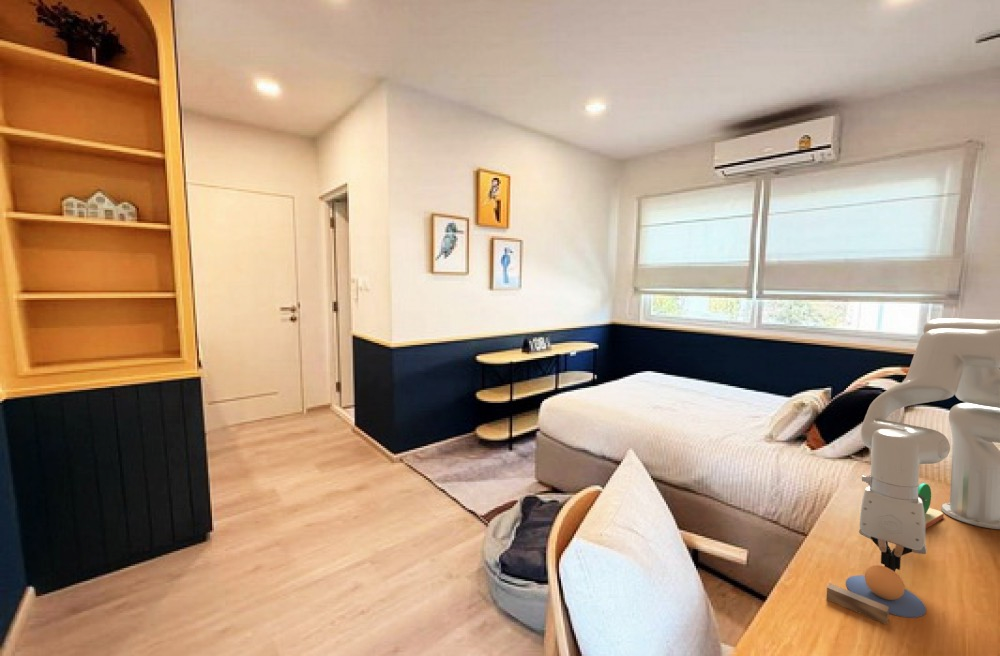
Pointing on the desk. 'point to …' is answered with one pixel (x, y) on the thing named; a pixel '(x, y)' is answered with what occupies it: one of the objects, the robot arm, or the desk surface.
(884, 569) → the ball
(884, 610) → the stopper strip
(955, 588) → the desk surface
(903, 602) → the mark
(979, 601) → the desk surface
